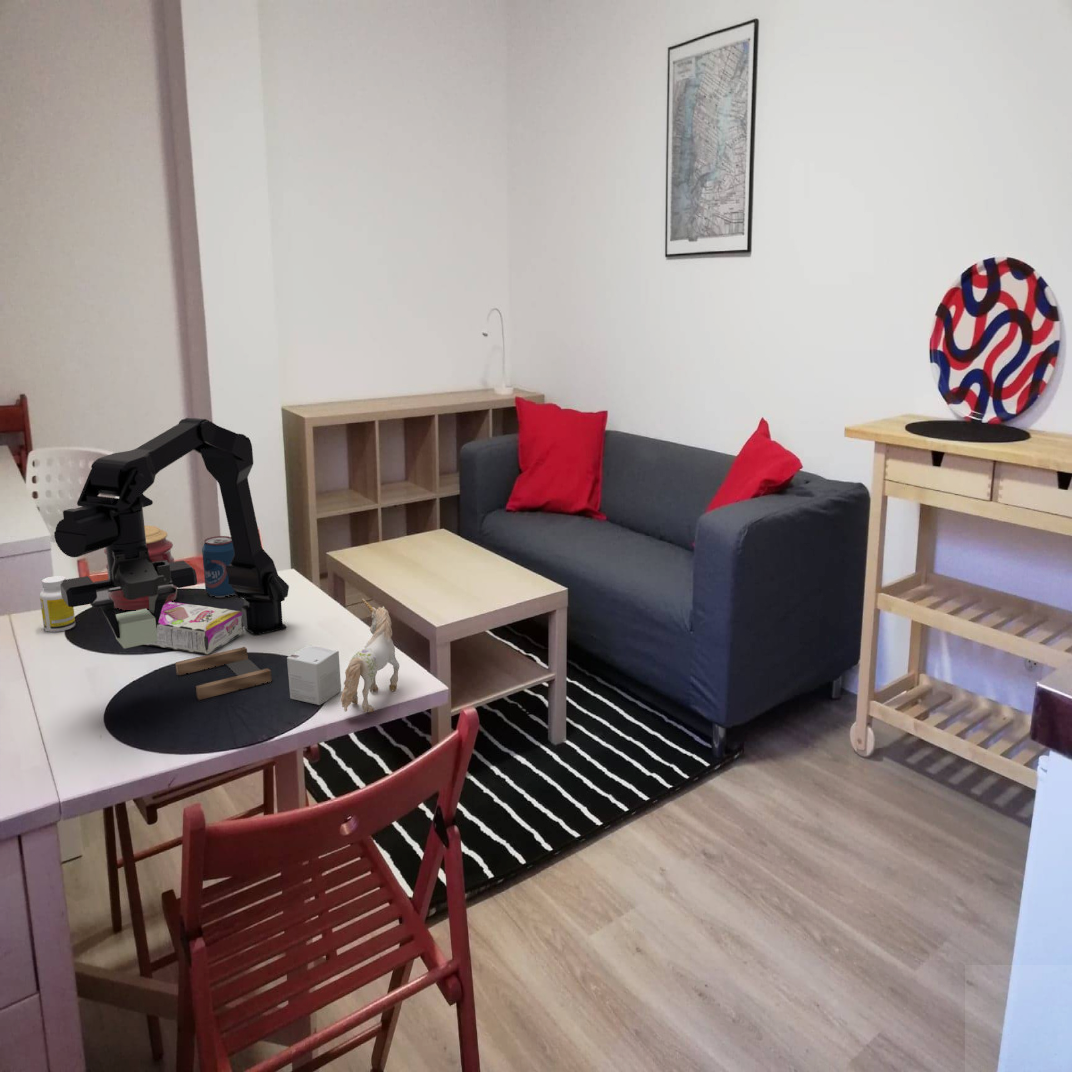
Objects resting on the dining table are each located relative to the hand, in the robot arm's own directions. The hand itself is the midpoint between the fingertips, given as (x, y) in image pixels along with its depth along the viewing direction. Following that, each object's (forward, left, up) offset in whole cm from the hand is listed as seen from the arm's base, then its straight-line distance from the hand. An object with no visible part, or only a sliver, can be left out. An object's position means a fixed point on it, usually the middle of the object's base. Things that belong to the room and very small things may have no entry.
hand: (136, 633), depth 141 cm
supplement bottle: (+5, -40, -11) cm, 42 cm away
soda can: (-27, -42, -11) cm, 51 cm away
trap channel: (-13, 0, -11) cm, 17 cm away
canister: (-12, -46, -11) cm, 49 cm away
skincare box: (-23, +15, -11) cm, 30 cm away
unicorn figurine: (-29, +19, -11) cm, 36 cm away
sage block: (0, 0, -1) cm, 1 cm away
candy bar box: (-8, -27, -8) cm, 30 cm away
